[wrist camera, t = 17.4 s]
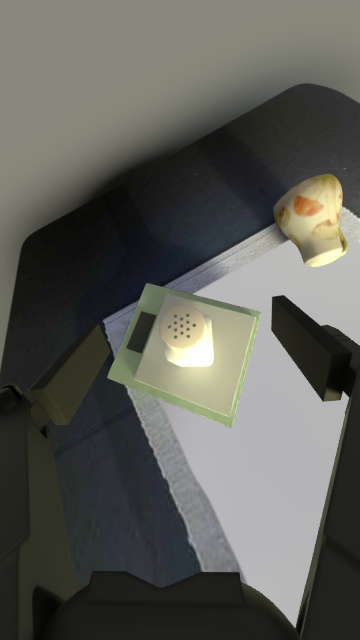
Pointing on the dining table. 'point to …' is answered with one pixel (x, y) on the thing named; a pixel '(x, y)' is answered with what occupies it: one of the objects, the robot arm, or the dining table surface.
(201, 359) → the pepper shaker
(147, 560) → the dining table surface
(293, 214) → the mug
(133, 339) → the scale
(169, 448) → the dining table surface
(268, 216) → the dining table surface
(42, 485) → the robot arm
